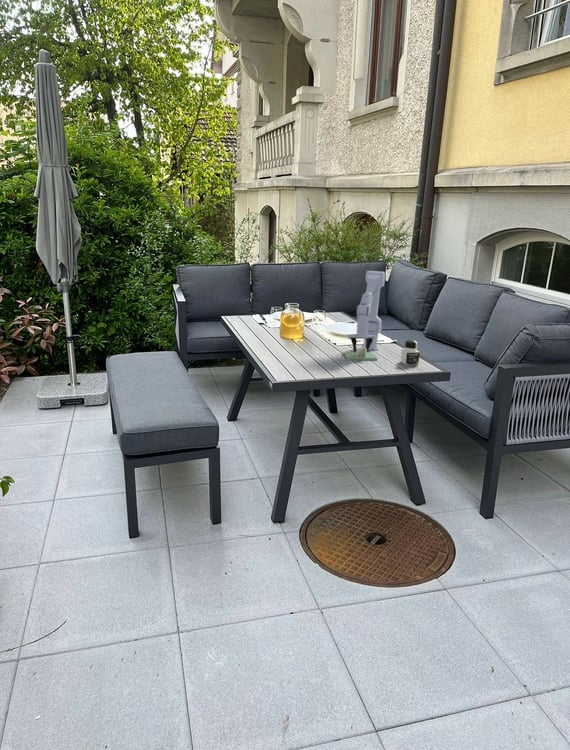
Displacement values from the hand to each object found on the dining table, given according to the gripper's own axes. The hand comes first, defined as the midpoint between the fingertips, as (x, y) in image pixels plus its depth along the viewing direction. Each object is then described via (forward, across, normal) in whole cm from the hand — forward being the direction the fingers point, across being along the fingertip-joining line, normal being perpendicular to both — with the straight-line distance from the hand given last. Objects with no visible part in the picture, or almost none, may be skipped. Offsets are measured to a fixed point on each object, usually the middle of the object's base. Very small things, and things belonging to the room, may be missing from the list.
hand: (360, 351), depth 303 cm
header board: (+3, 0, +1) cm, 3 cm away
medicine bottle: (+3, +24, -10) cm, 26 cm away
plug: (+2, 0, 0) cm, 2 cm away
